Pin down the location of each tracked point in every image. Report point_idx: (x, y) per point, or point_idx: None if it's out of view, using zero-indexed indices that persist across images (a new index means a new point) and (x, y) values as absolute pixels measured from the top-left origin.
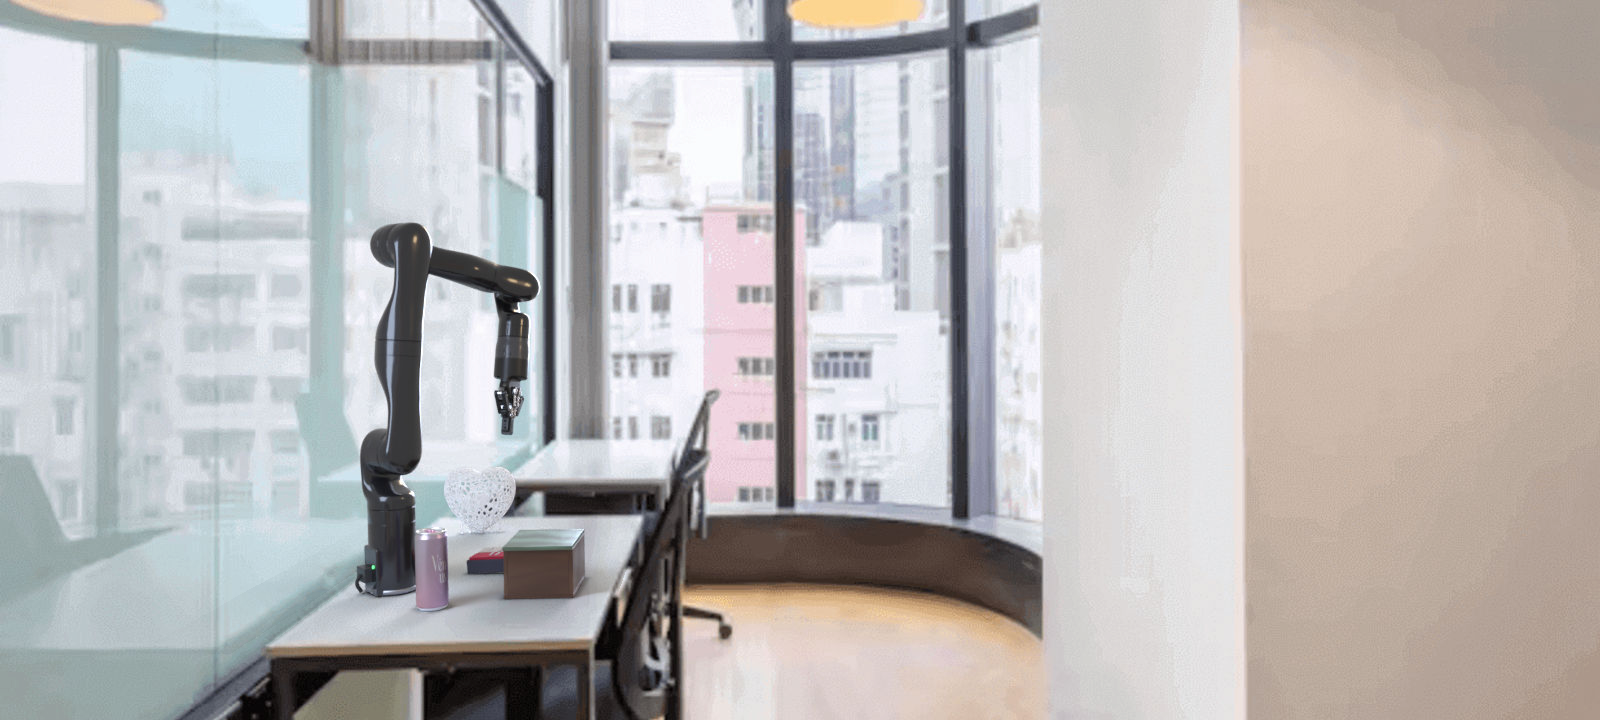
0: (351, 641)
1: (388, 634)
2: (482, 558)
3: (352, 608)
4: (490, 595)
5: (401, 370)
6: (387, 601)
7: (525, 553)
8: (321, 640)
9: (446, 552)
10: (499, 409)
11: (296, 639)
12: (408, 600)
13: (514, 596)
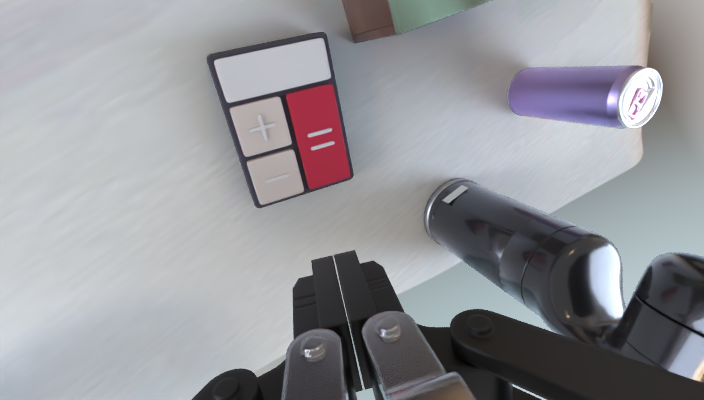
0: None
1: None
2: (345, 149)
3: (530, 196)
4: (457, 39)
5: None
6: (500, 177)
7: None
8: (631, 133)
9: (601, 66)
10: (528, 396)
11: (627, 162)
12: (494, 152)
13: None
